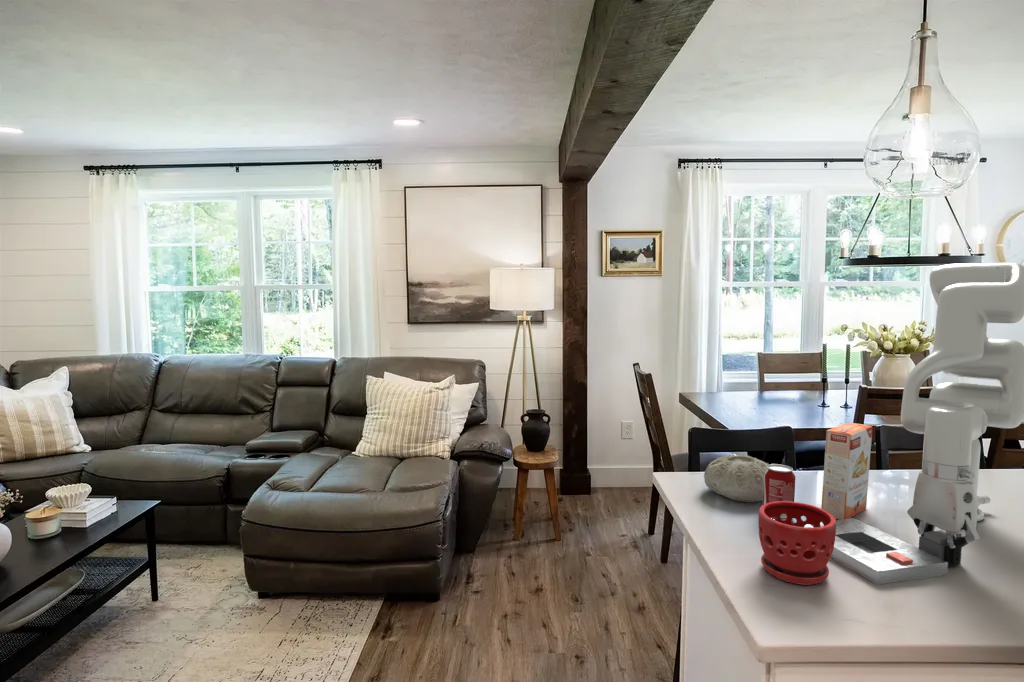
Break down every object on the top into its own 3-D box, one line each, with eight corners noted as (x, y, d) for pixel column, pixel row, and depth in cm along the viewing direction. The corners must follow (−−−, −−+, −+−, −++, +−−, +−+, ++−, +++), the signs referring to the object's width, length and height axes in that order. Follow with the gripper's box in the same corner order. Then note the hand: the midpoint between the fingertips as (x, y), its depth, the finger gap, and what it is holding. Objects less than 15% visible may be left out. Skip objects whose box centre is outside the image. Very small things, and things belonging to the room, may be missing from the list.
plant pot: (746, 557, 118) (748, 499, 117) (812, 559, 118) (815, 500, 117) (772, 591, 105) (775, 525, 104) (847, 592, 105) (851, 527, 104)
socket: (853, 529, 133) (854, 515, 132) (946, 574, 111) (948, 559, 111) (792, 535, 129) (793, 522, 129) (877, 584, 108) (878, 568, 107)
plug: (939, 554, 120) (941, 529, 120) (960, 564, 116) (962, 537, 115) (917, 557, 119) (919, 531, 118) (938, 567, 114) (940, 540, 114)
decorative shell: (728, 511, 143) (730, 470, 142) (690, 487, 161) (691, 451, 160) (792, 505, 148) (793, 466, 147) (747, 482, 165) (749, 447, 164)
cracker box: (847, 523, 136) (852, 434, 134) (819, 515, 141) (824, 429, 139) (868, 508, 145) (873, 425, 143) (842, 502, 150) (846, 420, 148)
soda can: (796, 523, 136) (799, 472, 135) (765, 521, 137) (767, 470, 136) (789, 513, 142) (791, 464, 141) (759, 510, 144) (761, 462, 142)
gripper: (1005, 482, 108) (997, 578, 110) (921, 457, 125) (916, 540, 126) (973, 485, 107) (965, 582, 108) (892, 459, 123) (887, 544, 124)
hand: (939, 559), depth 117 cm, fingers closed on plug, 4 cm apart
